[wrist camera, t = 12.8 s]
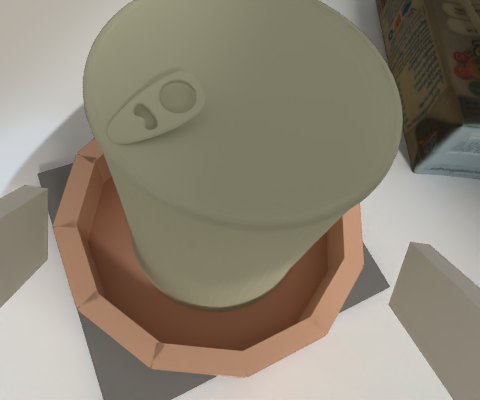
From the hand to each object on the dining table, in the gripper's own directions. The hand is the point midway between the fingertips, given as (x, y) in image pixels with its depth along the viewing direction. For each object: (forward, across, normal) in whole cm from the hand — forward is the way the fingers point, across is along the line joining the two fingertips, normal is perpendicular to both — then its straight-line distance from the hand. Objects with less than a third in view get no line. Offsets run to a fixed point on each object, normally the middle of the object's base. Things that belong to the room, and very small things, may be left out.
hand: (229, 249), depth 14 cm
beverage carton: (+20, -15, -8) cm, 26 cm away
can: (+7, 0, +2) cm, 8 cm away
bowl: (+8, 0, +3) cm, 8 cm away
